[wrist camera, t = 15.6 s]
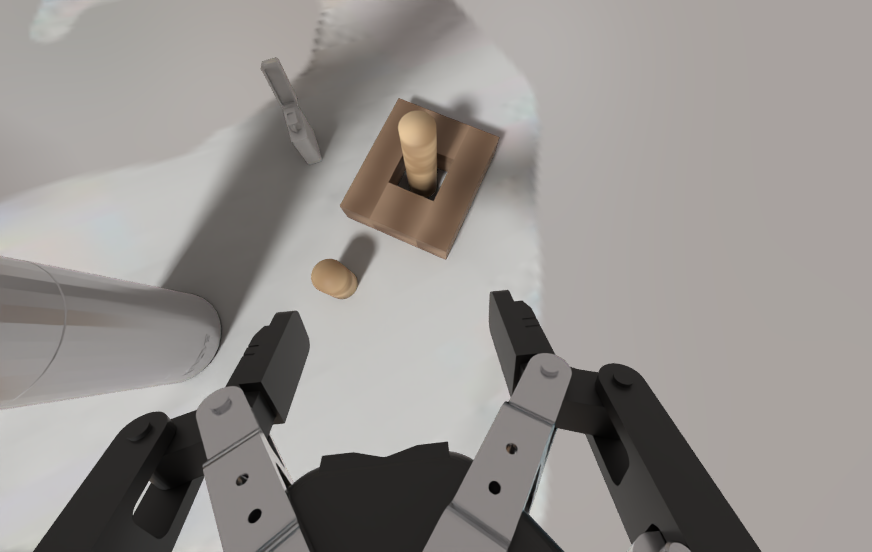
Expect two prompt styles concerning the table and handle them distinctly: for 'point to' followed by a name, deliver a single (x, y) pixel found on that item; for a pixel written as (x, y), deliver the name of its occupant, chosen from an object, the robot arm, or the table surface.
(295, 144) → the lighter
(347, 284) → the short pin
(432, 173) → the long pin
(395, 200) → the hole plate
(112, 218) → the table surface
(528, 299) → the table surface
